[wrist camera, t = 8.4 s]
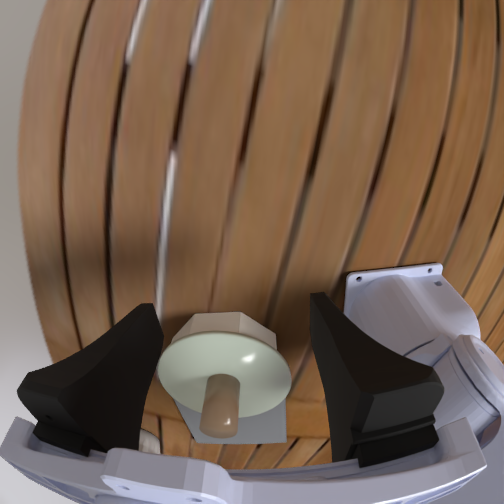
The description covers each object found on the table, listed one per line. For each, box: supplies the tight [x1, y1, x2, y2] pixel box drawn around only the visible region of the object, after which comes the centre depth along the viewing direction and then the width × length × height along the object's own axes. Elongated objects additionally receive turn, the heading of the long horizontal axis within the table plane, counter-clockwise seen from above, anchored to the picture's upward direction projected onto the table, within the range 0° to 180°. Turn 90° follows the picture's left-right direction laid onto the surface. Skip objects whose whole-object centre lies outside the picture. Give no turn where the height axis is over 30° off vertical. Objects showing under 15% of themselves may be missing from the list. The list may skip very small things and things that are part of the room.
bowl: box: [171, 312, 277, 350], centre depth 26 cm, size 10×10×3 cm
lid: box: [158, 331, 291, 439], centre depth 22 cm, size 12×12×6 cm
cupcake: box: [139, 429, 160, 454], centre depth 32 cm, size 9×9×10 cm
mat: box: [173, 398, 286, 444], centre depth 33 cm, size 13×13×1 cm
